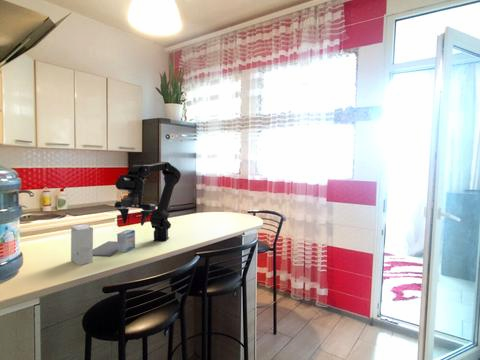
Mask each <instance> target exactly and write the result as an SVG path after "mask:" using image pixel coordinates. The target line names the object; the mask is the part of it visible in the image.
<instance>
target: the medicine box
mask: <svg viewBox="0 0 480 360" xmlns="http://www.w3.org/2000/svg"><path fill="white" fill-rule="evenodd" d="M116 238H117V239H116V240H117V241H116V242H117V244H118V252H117V253H128V252H129V251H131V250H133V249H134V248H136V230H135V229H125V230H124V231H121V232H119V233H116Z"/></svg>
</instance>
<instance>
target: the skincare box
mask: <svg viewBox="0 0 480 360" xmlns="http://www.w3.org/2000/svg"><path fill="white" fill-rule="evenodd" d="M70 227H71V229H70V231H71V232H70V233H71V234H70V236H71V237H70V261H71V262H72V263H75V264H76V265H77V266H82V265H86V264H89V263H90V264H91V263H93V262H94V259H93V257H94V256H93V249H94V248H93V247H94V228H93V227H92V226H90V225H87V224H78V225H71V226H70Z"/></svg>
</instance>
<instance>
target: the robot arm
mask: <svg viewBox="0 0 480 360" xmlns="http://www.w3.org/2000/svg"><path fill="white" fill-rule="evenodd" d="M155 172H161V174H162V175H163V179H164V187H163V190H162V193H161V196H160V198H159V199H160V200H159V201H158V202H159V203H158V206H157V207H156V205H155V204H154V203H153V204H152V203H144V202H143V197H145V193H144V189H145V188H144V187H145V184H147V183H148V180H147V179H146V177H147V176H150V174H151V173H155ZM181 174H182V173H181V172H180V170H178V168H177V167H175V166H174V165H172V164H171V163H170V162H168V161H160V162H157V163H152V164H151V163H150V164H133V165H132V166H131V167H130V169H129V170H128V172H127V173H126V174H119V177H118V178H117V179H116V181H115V188H116V189H117V190H119V191H129V192H128V193H127V196H125V197H123V198H121V199H120V201H115V203H114V206H113V207H114V208H116V210H118V211H119V212H120V215H121V219H122V222H123V223H122V224H123V225H124V224H127V221H128V216H129V211H130V208H131V209H132V208H134V209H141V210H140V213H141V219H140V226H144V224H145V222H146V220H147V218H148V217H149V216H150V217H149V218H150V219H149V222H150V225H151V228H152V229H154V230H153V242H166V241H167V240H168V239H170V237H169V229H171V227H172V224H171V222H170V221H169V220H168V218H169V215H168V207H169V205H170V202H171V198H172V194H173V191H174V188H175V186H176V185H177V184H178V183H179V181H180V179H181Z"/></svg>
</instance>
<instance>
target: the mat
mask: <svg viewBox="0 0 480 360" xmlns="http://www.w3.org/2000/svg"><path fill="white" fill-rule="evenodd" d="M116 253H119V252H118V244H117V241H116V240H115V241H113V240H112V241H111V240H110V241H109V240H108V241H107V242H103V244H100V245H99V246H97V247H94V248H93V257H111V256H113V255H114V254H116Z"/></svg>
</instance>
